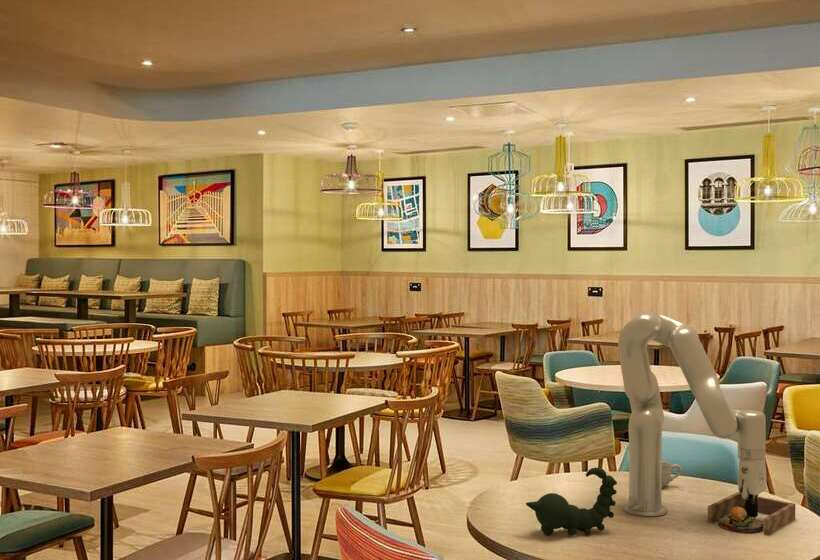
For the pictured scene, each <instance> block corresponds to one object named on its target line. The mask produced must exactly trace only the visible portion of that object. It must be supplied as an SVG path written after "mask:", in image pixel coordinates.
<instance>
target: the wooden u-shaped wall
mask: <svg viewBox="0 0 820 560" xmlns="http://www.w3.org/2000/svg"><path fill="white" fill-rule="evenodd" d="M735 505H736V506H735ZM734 507H742V508H743V509H745V502H744V499H742V493H740V492H739V491H738V492H737V491H736V492H735V493H732V494H730V495H729V496H727V497H724V498H722V499H720V500H718V501H716V502H714V503H712V504H710V505H708V506H707V522H708V523H714V522H715V521H717V520H719V519H720V518H721V517H724V516H728V515H730V511H731V509H732V508H734ZM758 512H759V513H758V514H763V515H767V516H765V517H764V518H763V524H764V525H763V535H764V536H771V535H772V534H773V533H775V532H776V531H778V530H779V529H781V528H783V527H784V526H786V525H788V524H789V523H791V522H793V521H795V520H796V503H793V502H788V501H783V500H777V499H773V498H767V497H763V496H759V498H758Z"/></svg>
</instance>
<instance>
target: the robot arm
mask: <svg viewBox="0 0 820 560" xmlns="http://www.w3.org/2000/svg"><path fill="white" fill-rule="evenodd" d="M620 331H621V332H620V333H619V336H618V343H617V350H618V355H619V363H620V369H621V375H622V381H623V391H624V393H625V395H626V397H627V398H628V399H629V403H630V404H629V405H630V410H631V414H630V416H629V419H628V441H629V442H628V458H629V459H628V463H629V464H628V468H629V469H628V472H629V473H628V501H627V502H625V503H623V504H622V508H623V510H624V511H625V512H626V513H629V514H631V515H636V516H640V517H660V516H663V515H666V514H667V511H668V509H667V506H665V505H664V504H662V498H663V497H662V494H663V493H662V490H663V487H662V461H663V458H662V456H663V453H662V451H663V443H662V442H663V437H662V435H663V434H662V432H663V425H664V420H665V415H664V410H663V408H664V407H663V402H662V398H661V392H660V387H659V382H658V378H657V376H656V375H655V374H654V372H653V371H652V368H651V365H650V357H649V353H648V345H649V342H651V341H653V342H656V343H658V344H660V345H663V346H665V347H668V348H670V350H671V353H672V355H674V358H675V360H676V362H677V364H678V366H679V368H680V369H681V371H682V372H681V373H682V374H683V376H684V379H685V380H686V382H687V384H688V387H689V389H690V391H691V394H692V395H693V396H694V399H695V400H696V402H697V406H698V407H699V409H700V411H701V412H700V413H702V416H703V417H704V419H705V422H706V424H707V425H708V428H709V429H710V431H711V433H712V434H713V435H715V436H716V437H717V438H719V439H730V438H732V437H733V436H735V434H736V433H737V459H739V463H738V473H737V474H738V475H737V476H738V477H737V489H738V493H742V499H744V502H745V511H746V513H747V515H749V516H750V518H751V516H752V518H755V519H756V518H757V517H759V513H758V498H759V497H760V494H761V493H764V492H765V491H766V490H767V488H768V487H767V486H768V485H767V468H766V449H767V448H766V437H767V436H766V435H767V434H766V432H767V431H766V429H767V428H766V421H767V419H766V414H765V413H764V412H762V411H760V410H753V409H747V410H746V409H745V410H741V409H735V408H730V406H729V404H728V402H727V400H726V398H725V396H724V393H723V391H722V389H721V386H720V381H719V378H718V375H717V372H716V370H715V368H714V366H713V364H712V362H711V361H710V359H709V356H708V355H707V353H706V351H705V349H704V346H703V344H702V342H701V340H700V337H699V333H698V332H697V330H696V329H695V328H694V327H693V326H690V325H689V324H685V323H683V322H680V321H677V320H675V319H672V318H670V317H668V316H665V315H662V314H661V313H658V312H655V311H652V310H651V311H650V310H645V311H642V312H640V313H639V314H637V315H635V316H634V317H632V318H631V319H630V320H629V321H628V322H627V323H625V325H624V326H623V328H622V330H620Z"/></svg>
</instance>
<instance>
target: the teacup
mask: <svg viewBox="0 0 820 560" xmlns="http://www.w3.org/2000/svg"><path fill="white" fill-rule="evenodd" d="M675 468H677V469H678V471H677V473H675V474H674V475H672V472H673V469H675ZM682 471H683V470H682V467H681V465H679V464H678V463H677V464H676V463H674V464H672V463H671V462H670V461H669V462H668V461H664V460H662V488H666V486H667V485H668V484H670V483H671V482H673V480H675V479H676V478H678V477H679V476H680V475H681V474H682Z"/></svg>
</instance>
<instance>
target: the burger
mask: <svg viewBox="0 0 820 560" xmlns="http://www.w3.org/2000/svg"><path fill="white" fill-rule="evenodd" d="M735 506H736V505H735ZM718 520H719V522H718V525H719V526H720V528H722V529H725V530H726V531H729V532H734V533H740V534H758V533H761V532H764V522H762V521H761V520H759V519H756V518H753V517H752V516H751V517H750V516H749V515H747V513H746V511H745V509H743V508H742V507H734V508H732V509H731V511H730V513H729V514H727V515H725V516H723V517H721V518H720V519H718Z"/></svg>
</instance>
